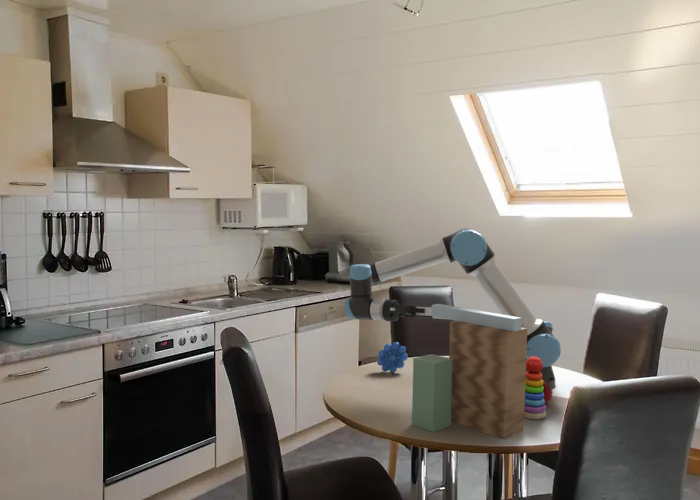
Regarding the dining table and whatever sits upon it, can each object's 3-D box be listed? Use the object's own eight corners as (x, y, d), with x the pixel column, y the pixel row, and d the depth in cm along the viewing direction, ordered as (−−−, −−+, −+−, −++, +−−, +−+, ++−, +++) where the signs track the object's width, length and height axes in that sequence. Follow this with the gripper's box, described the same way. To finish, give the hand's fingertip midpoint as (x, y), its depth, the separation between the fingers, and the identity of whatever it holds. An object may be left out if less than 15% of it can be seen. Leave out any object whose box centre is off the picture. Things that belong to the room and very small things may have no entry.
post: (411, 424, 190) (413, 358, 188) (429, 418, 195) (431, 354, 194) (432, 432, 184) (434, 363, 182) (450, 425, 189) (452, 359, 188)
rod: (431, 315, 201) (431, 304, 201) (438, 314, 204) (438, 303, 203) (514, 331, 179) (514, 319, 179) (521, 329, 182) (521, 317, 181)
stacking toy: (515, 411, 203) (517, 353, 201) (540, 411, 203) (542, 353, 202) (524, 420, 195) (526, 359, 193) (550, 420, 195) (552, 359, 194)
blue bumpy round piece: (408, 370, 249) (408, 340, 248) (406, 375, 243) (407, 344, 242) (378, 368, 251) (379, 338, 250) (376, 373, 245) (376, 342, 244)
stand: (447, 420, 194) (450, 322, 192) (467, 412, 201) (470, 318, 198) (503, 438, 180) (507, 333, 177) (523, 430, 186) (527, 328, 184)
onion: (552, 402, 212) (553, 379, 211) (551, 408, 207) (552, 383, 206) (533, 400, 214) (534, 377, 213) (532, 405, 208) (533, 381, 208)
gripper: (400, 323, 233) (456, 327, 222) (367, 318, 212) (427, 322, 201) (402, 303, 234) (457, 305, 223) (369, 295, 213) (428, 298, 202)
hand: (443, 313), depth 212 cm, fingers open, 13 cm apart
